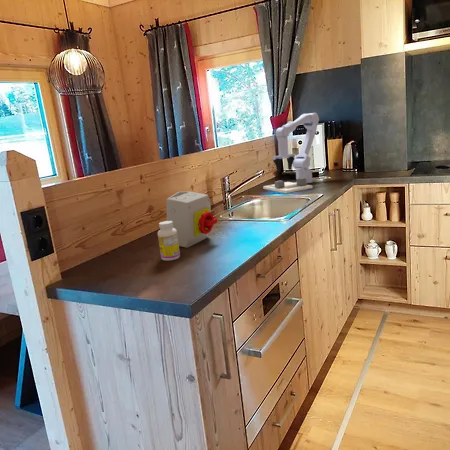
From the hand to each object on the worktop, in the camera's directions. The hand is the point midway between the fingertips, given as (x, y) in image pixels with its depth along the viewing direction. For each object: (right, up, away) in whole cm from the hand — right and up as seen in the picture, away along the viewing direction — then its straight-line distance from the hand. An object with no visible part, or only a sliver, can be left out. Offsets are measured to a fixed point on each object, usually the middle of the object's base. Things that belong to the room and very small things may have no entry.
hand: (284, 170), depth 261 cm
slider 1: (-4, -11, -6) cm, 13 cm away
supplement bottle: (-55, -45, -112) cm, 132 cm away
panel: (+1, -11, -2) cm, 11 cm away
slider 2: (+9, -9, -6) cm, 14 cm away
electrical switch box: (-47, -40, -95) cm, 114 cm away
